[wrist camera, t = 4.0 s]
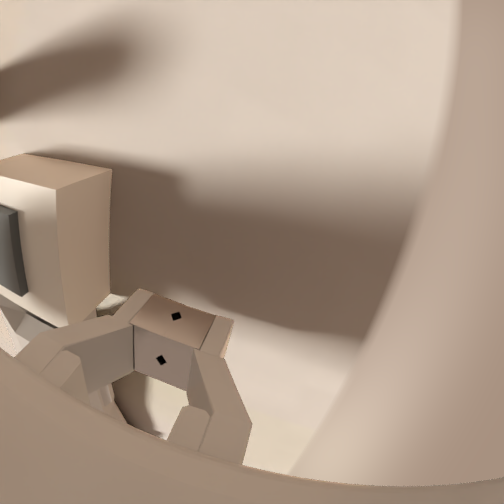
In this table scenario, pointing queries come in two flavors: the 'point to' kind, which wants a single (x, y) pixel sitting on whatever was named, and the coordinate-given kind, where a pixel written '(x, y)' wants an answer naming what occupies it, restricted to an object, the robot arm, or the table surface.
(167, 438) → the robot arm
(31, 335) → the gun
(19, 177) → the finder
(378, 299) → the table surface
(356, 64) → the table surface
